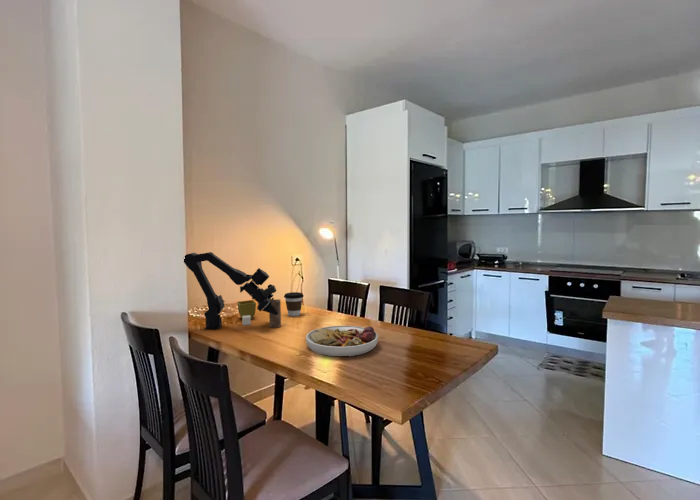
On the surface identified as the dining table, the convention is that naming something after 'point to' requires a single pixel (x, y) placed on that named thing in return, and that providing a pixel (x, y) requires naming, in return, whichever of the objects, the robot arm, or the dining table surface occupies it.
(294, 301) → the coffee cup
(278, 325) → the walnut block
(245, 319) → the ceramic cube
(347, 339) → the bowl
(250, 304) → the flower pot
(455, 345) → the dining table surface
